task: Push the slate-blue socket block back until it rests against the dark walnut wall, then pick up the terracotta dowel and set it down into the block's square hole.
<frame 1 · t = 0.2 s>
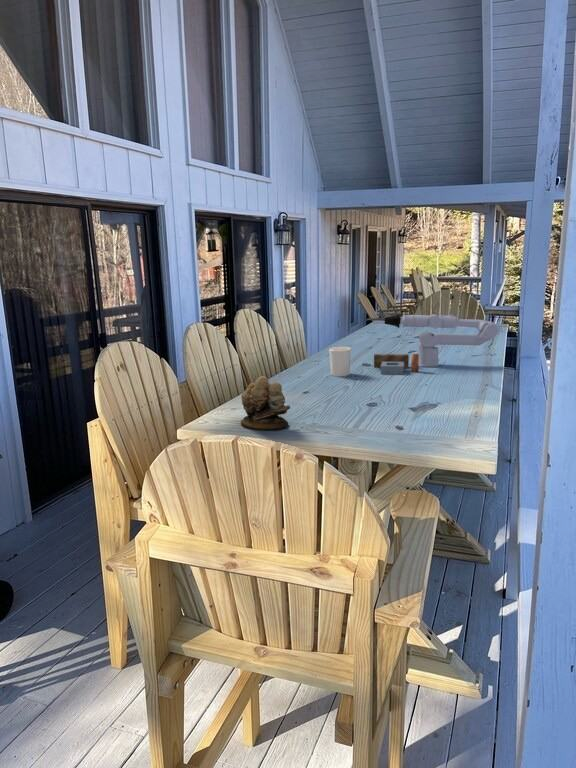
hand: (384, 320, 259), 22 cm above the table, tool horizontal, fingers open, 7 cm apart
socket block: (392, 372, 250), on the table
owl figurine: (265, 425, 182), on the table
dowel: (414, 371, 249), on the table
candle holder: (340, 375, 249), on the table
walnut wall: (391, 367, 260), on the table
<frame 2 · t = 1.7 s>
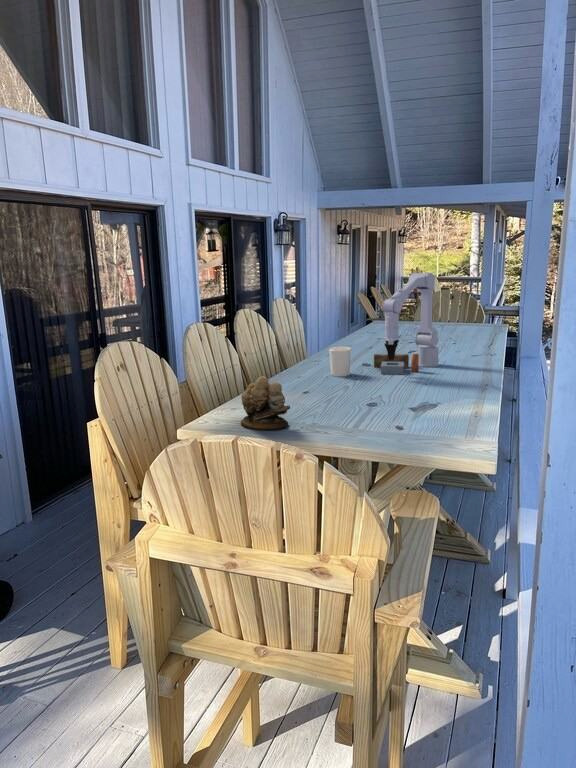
hand: (391, 358, 239), 8 cm above the table, tool pointing down, fingers open, 6 cm apart
nothing on the table moved.
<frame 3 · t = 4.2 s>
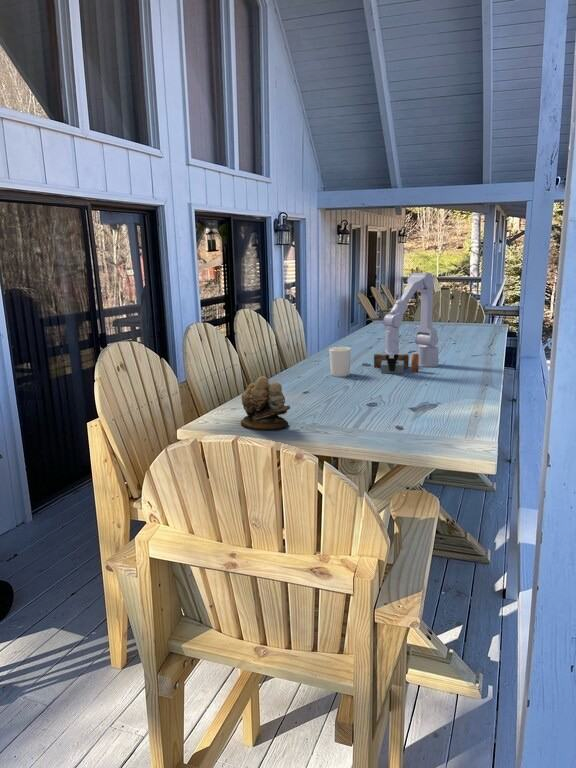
hand: (392, 370, 246), 1 cm above the table, tool pointing down, fingers closed
socket block: (392, 371, 252), on the table, touching gripper
everything else where it was.
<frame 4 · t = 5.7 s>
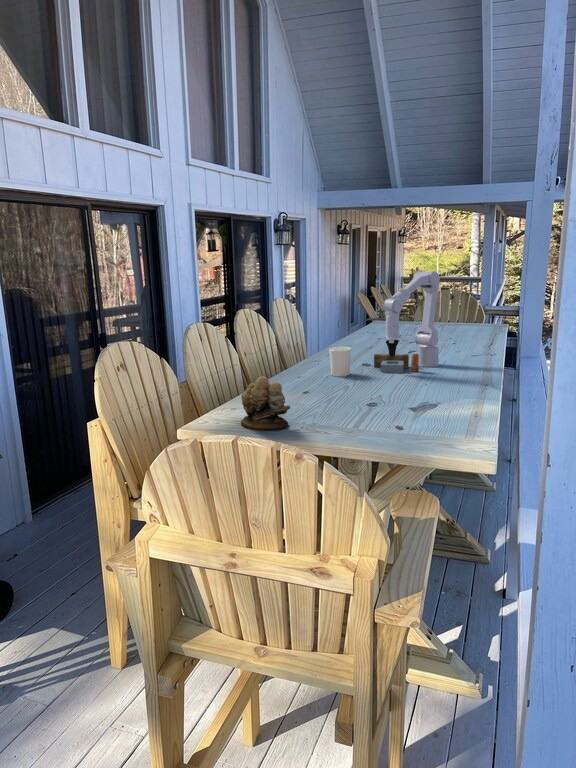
hand: (392, 356, 245), 8 cm above the table, tool pointing down, fingers closed
socket block: (392, 371, 253), on the table
everything else where it was.
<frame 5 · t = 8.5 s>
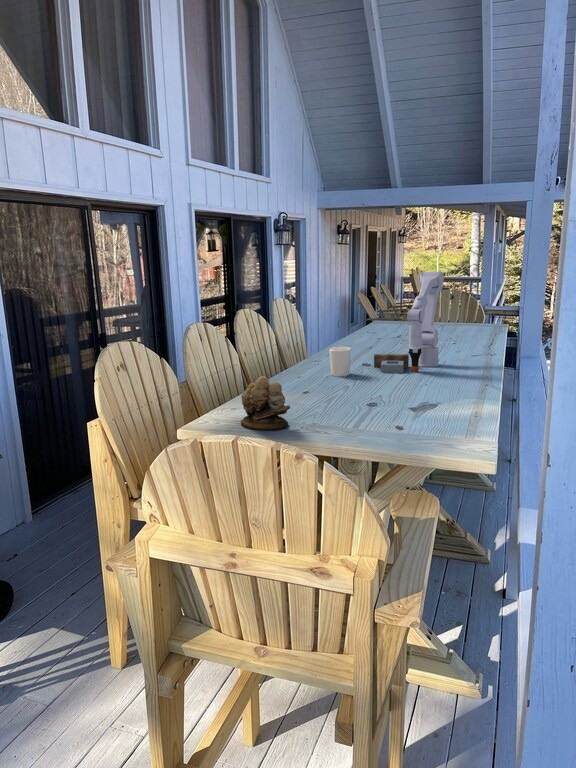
hand: (414, 365, 248), 3 cm above the table, tool pointing down, fingers closed on dowel, 3 cm apart
dowel: (414, 371, 249), on the table, touching gripper
everything else where it was.
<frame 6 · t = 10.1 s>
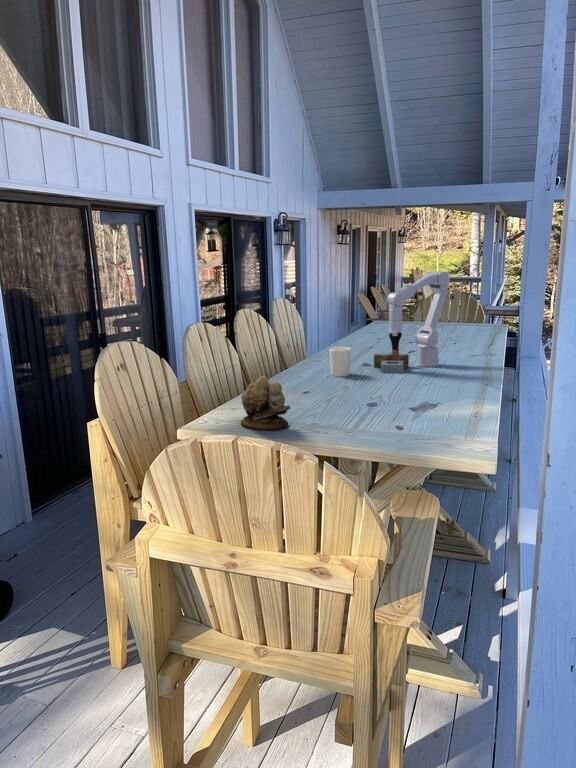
hand: (395, 349, 250), 10 cm above the table, tool pointing down, fingers closed on dowel, 3 cm apart
dowel: (395, 355, 251), point 7 cm above the table, touching gripper
everything else where it was.
when the fingers open (5 cm above the table, at t = 11.8 s): dowel drops 1 cm, resting on socket block.
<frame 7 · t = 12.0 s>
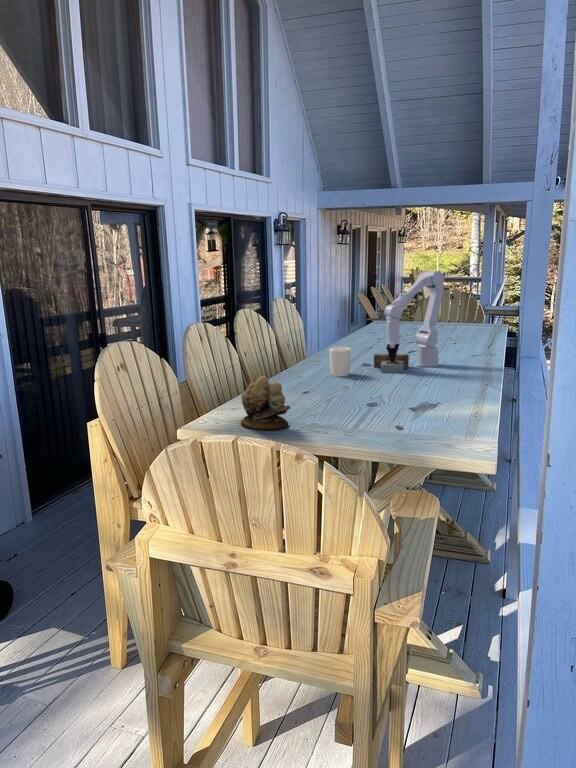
hand: (392, 360, 252), 5 cm above the table, tool pointing down, fingers open, 5 cm apart
socket block: (392, 371, 253), on the table, touching dowel
dowel: (392, 369, 253), point 1 cm above the table, touching socket block
everything else where it was.
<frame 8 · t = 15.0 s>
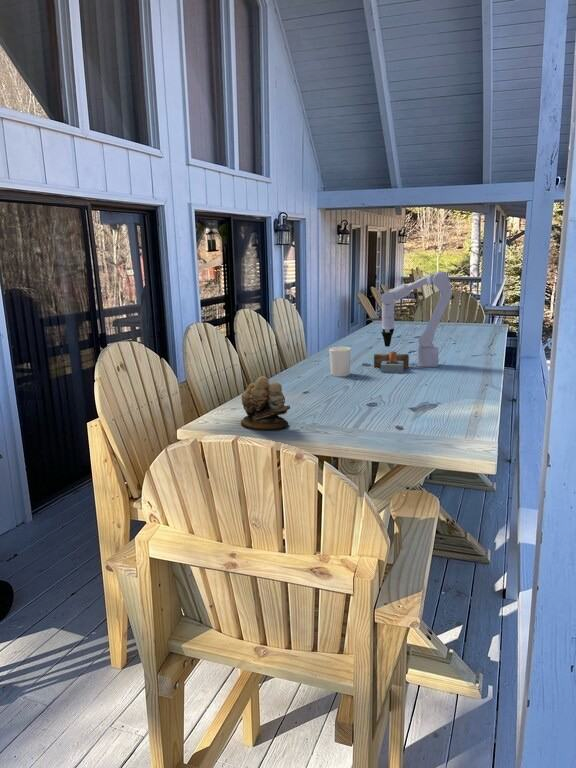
hand: (387, 345, 264), 9 cm above the table, tool pointing down, fingers open, 7 cm apart
nothing on the table moved.
at the end: socket block 0.2 cm from the target spot, on the table; dowel 0.2 cm off-centre on the socket block, point 1.0 cm above the socket block's base; dowel tilted 1° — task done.
